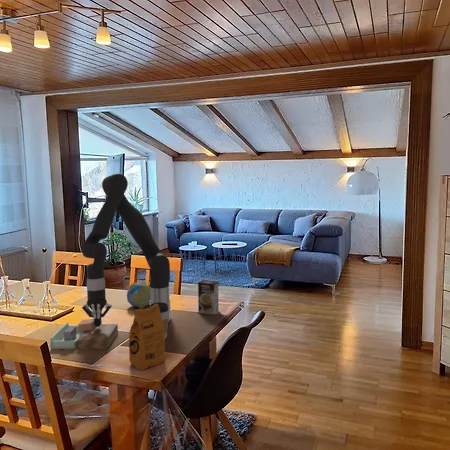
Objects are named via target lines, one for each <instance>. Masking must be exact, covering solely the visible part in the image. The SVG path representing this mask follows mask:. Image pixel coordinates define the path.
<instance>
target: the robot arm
mask: <svg viewBox="0 0 450 450" xmlns="http://www.w3.org/2000/svg"><path fill="white" fill-rule="evenodd" d="M128 184H129V182H128V179H127V177H126V176H125V175H124V174H122V173H114V174H111V175H109V176H106V177H104V179H103V180H102V182H101V187H102V190H103V192H104V195H106V199H105V201H104V203H103V205H102V206H101V208H100V210H99V212H98V214H97V215H96V217H95V220H94V223H93V226H92V230H91V231H90V233H89V235H88V236H87V237H86V239H85V241H84V242H83V244H82V248H81V253H82V255H83V257H85V258H87V259H93V263H90V264H88V265H87V266H86V292H87V295H86V296H87V301H86V303H85V304H84V305H82V307H81V308H82V310H83V311H84V313H85V314H87V316H88V317H89V318H92V319H94V325H96V327H99V326H100V325H101V324H102V318H104V317H105V316H106V314H107V313H108V312H109V311H110V309H111V308H112V306H113V305H112V304H111V303H110V304H109V303H108V300H107V298H106V280H105V271H104V268H105V265H106V260H107V259H106V258H107V255H108V249H107V246H106V245H105V244H104V243H103V242H100V241H101V240H104V239H107V238H108V236H109V234H110V230H111V228H112V227H111V226H112V223H113V220H114V217H115V215H116V212H117V213H118V215H119V216H120V217H121V218H120V219H121V220H122V222H123V223H124V225H125V227H126V229H127V230H128V233H130V236H131V237H132V238H133V240H134V242H135V243H136V244H137V246H138V247H139V248H140V250H141V251H142V253H143V256H144V257H145V260H146V263H147V265H148V267H149V269H150V280H149V286H150V304H149V306H150V305H151V304H153V303H158V302H162V303H166V304H167V306H168V323H170V321H171V318H172V316H171V315H172V314H171V299H170V281H171V280H170V279H171V263H170V260H169V258H168V256H167V255H165V254H164V253H163V252H162V251H161V249H160V248H159V247H158V245H157V243H156V242H155V240H154V237H153V235H152V231H151V229H150V226H149V224H148V222H147V220H146V219H145V216H144V215H143V214H142V213H141V212H140V210H138V208H136V207H135V206H134V205H133V204H132V203H131V201H129V200H128V197H126V191H127V190H128V186H129V185H128ZM104 308H105V310H104V311H103V309H104ZM102 312H103V313H102Z"/></svg>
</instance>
